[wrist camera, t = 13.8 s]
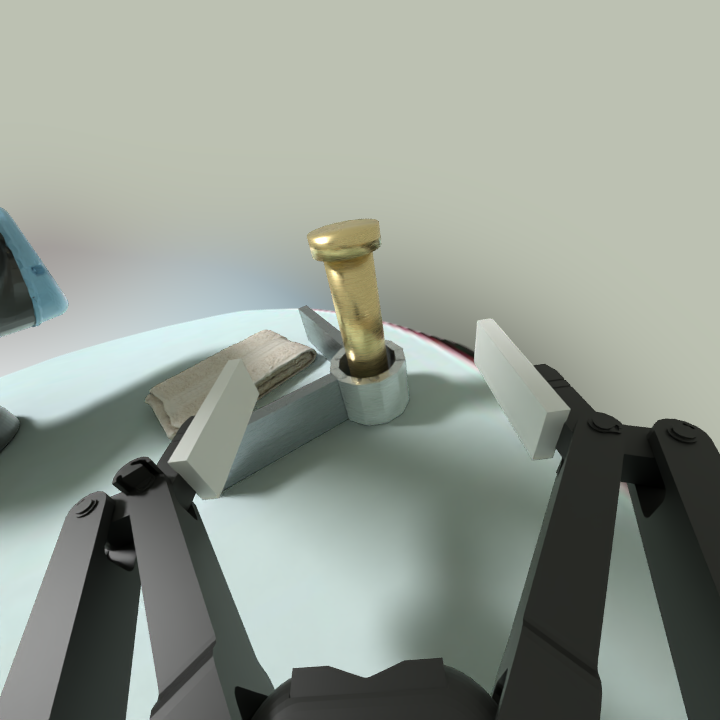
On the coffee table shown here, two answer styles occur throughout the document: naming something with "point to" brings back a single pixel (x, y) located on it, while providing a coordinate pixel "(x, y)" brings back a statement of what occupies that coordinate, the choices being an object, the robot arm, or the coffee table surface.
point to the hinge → (321, 402)
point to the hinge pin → (354, 290)
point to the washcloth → (190, 387)
